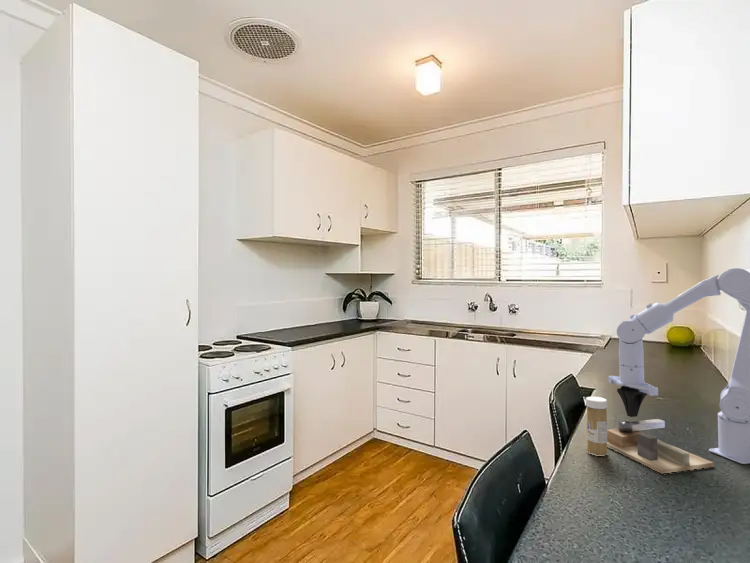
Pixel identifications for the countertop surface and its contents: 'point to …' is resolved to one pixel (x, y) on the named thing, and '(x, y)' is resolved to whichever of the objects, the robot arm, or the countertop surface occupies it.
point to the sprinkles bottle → (597, 425)
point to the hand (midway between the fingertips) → (632, 415)
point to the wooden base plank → (654, 452)
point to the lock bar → (640, 425)
